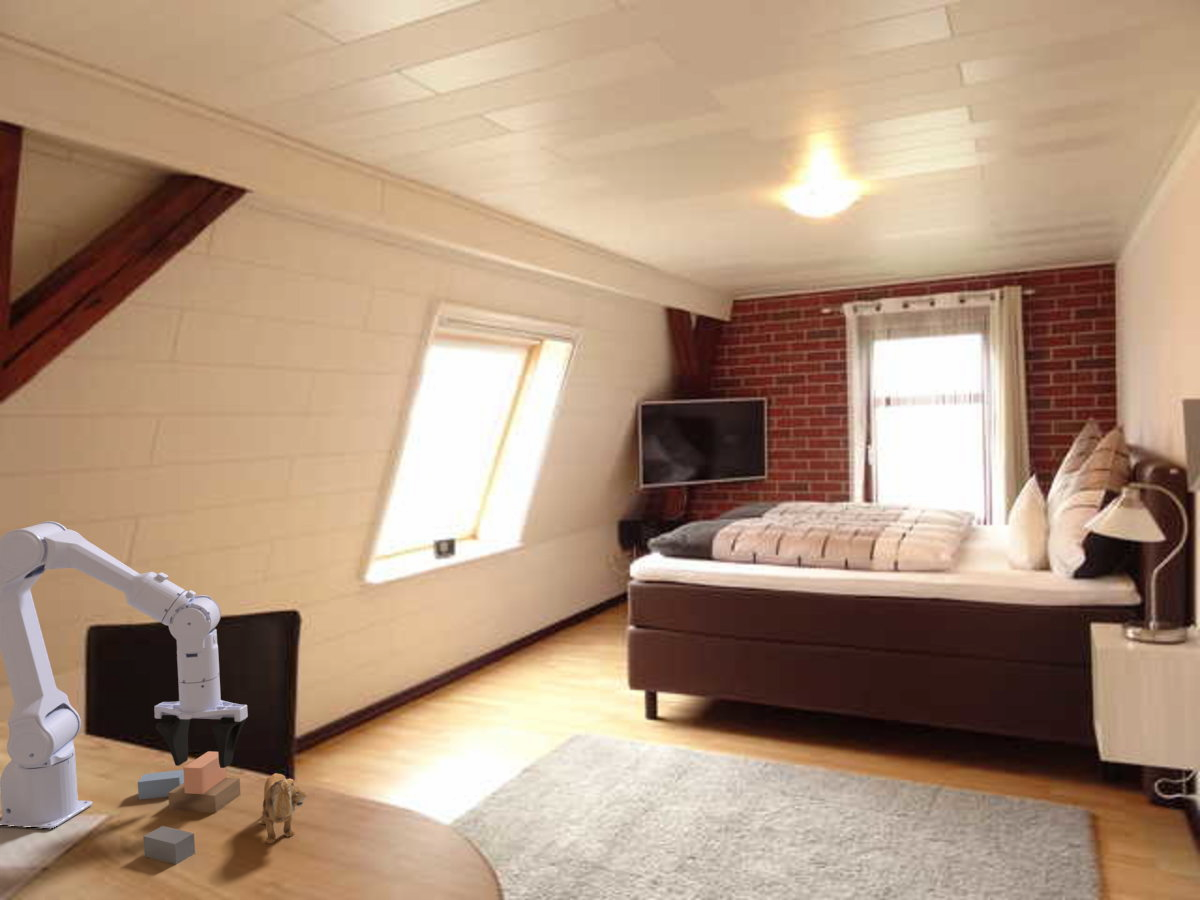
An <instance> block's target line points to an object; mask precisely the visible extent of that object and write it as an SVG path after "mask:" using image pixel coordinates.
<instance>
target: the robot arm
mask: <svg viewBox="0 0 1200 900" xmlns="http://www.w3.org/2000/svg"><path fill="white" fill-rule="evenodd" d="M58 569H59V570H61V569H75V570H78V571H79V572H81V573H83V574H86V575H88V576H90V577H92V578H94V579H96V580H98V581H99V582H102V583H104V584H106V585H109V586H110V587H112V588H114V589H116V590H118V591H121V592H122V593H123V594H124V596H125V600H126V603H127V605H128V606H130V607H132V608H133V609H135V610H137V611H140V612H141V613H142V614H145V615H146V616H148V617H150V618H152V619H154V620H155V621H157V622H159V623H161V624H163V625H164V626H168V630H169V632H170V634H171V636H172V637H173V639H175V640H176V655H177V656H176V662H177V678H178V681H177V682H178V700H177V701H162V702H160V703H158V704H156V705H154V709H153V711H154V718H155V719H161V720H160V722H158V723H156V725H155V727H156V729H155V730H157V732H159V734H160V736H161V737H162V738H163V740H164V741H165V743H166V745H167V746H168V750H169V751H170V754H171V757H172V759H173V763H174V765H175V767H176V766H177V767H178V766H179V767H180V766H181V765H182V764H185V762H187V761H189V760H188V759H189V730H190V729H189V727H190V722H191V719H205V720H206V719H208V720H209V719H210V720H220V721H218V722H216V723H215V724H213V725H212V726H211V730H212V733H213V734H214V738H215V740H216V747H217V752H218V757H219V765H220V768H225V767H226V768H227V767H228V766H230V764H232V763H233V759H234V753H235V749H236V744H237V741H238V738H239V735H240V733H241V731H242V728H243V726H244V725H245V722H246V720H247V718H248V716H249V714H248V705H247V704H239V703H235V702H234V703H233V702H230V701H227V700H226V701H225V700H222V699H221V696H222V695H221V681H220V679H221V678H220V660H219V657H220V656H219V645H218V633H217V632H218V631H217V630H218V629H216V627H217V626H218V624H219V622H220V620H221V617H222V615H221V614H222V612H221V611H222V610H221V607H220V606H219V604H218V602H217V601H215V600H214V599H213V598H212V597H211V596H210V595H206V594H200V595H199V594H198V595H197V593H196V591H194V590H192V589H190V590H189V591H188V590H186V589H185V588H183V587H180V585H177V584H175V583H174V582H172V581H171V580H168V578H169V575H168V574H166V573H165V572H161V571H160V572H159V573H156V572H154V571H148V572H144V573H140V572H137V571H136V570H135V569H133V568H131V567H129V566H128V565H126V564H125V563H123V562H121V561H120V560H119V559H117V558H116V557H114V556H113V555H110V554H109V553H108V552H106V551H105V550H103V549H101V548H100V547H98V546H96V545H95V544H93V543H92V542H90V541H89V540H87V539H86V538H85V537H84V536H82V535H81V534H80V532H77V531H76V530H73V529H71V528H70V529H67V527H66V526H64V525H63V524H61V523H60V522H57V521H50V520H49V521H43V522H40V523H37V524H35V525H31V526H28V527H22V528H17V529H16V528H14V529H12V530H9V531H8V532H5V533H4V534H3V535H2V536H0V654H1V658H2V662H3V666H4V668H5V673H6V676H7V679H8V683H9V687H10V690H11V694H12V695H11V696H12V698H13V699H12V700H13V707H12V709H11V711H10V714H9V717H8V720H7V726H8V732H9V735H8V739H7V743H6V751H7V754H8V756H9V757H10V759H11V760H10V761H9V762H8V763H7V764H6V765H5V767H4V768H3V770H2V773H1V776H0V803H1V804H0V807H1V820H0V824H2V825H14V826H31V827H40V828H39V829H42V828H50V829H49V830H52V829H51V828H53V829H55V828H56V826H57V827H58V826H60V825H62V824H63V823H65V822H66V821H68V820H70V819H71V818H73V817H74V816H76V815H78V814H79V813H81V812H83V811H84V810H86V809H87V808H89V807H91V806H92V805H93V801H92V800H80V799H79V797H78V796H79V794H78V780H77V763H76V749H75V744H74V739H76V738H77V736H79V735H78V734H79V733H80V730H81V727H82V719H81V717H80V715H79V713H78V711H77V710H76V709H75V708H74V707H73V706H72V705H71V703H70V700H69V697H68V695H67V694H66V693H65V692H64V691H62V690H60V689H59V688H58V687H57V685H56V681H55V677H54V674H53V670H52V666H51V662H50V659H49V654H48V651H47V648H46V643H45V640H44V636H43V632H42V629H41V626H40V621H39V616H38V613H37V610H36V605H35V602H34V599H33V595H32V590H31V589H32V588H33V586H34V585H35V584H36V582H37V581H38V580H39V579H40V578H41V576H42V575H43V574H44V573H45V571H47V570H58ZM54 827H55V828H54Z"/></svg>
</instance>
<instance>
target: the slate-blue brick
mask: <svg viewBox="0 0 1200 900" xmlns="http://www.w3.org/2000/svg"><path fill="white" fill-rule="evenodd" d="M182 783H184V770H183V769H178V770H168V771H160V772H159V771H158V772H151V773H144V774H142V776H141V778H140V779H139V780H138V781H137V791H138V793H137V794H138V800H140V801H141V800H146V799H147V800H148V799H157V798H165V797H169V796H168V792H170V791H171V790H173V789H175V788H176V787H178V786H179V785H181V784H182Z"/></svg>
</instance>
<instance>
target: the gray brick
mask: <svg viewBox="0 0 1200 900" xmlns="http://www.w3.org/2000/svg"><path fill="white" fill-rule="evenodd" d="M195 846H196V845H195V833H194V832H189V831H185V830H181V829H177V828H173V827H169V826H164V825H161V826H160V827H158V828H156V829H154V830H152V831H150V832H148V833H146V834H144V835H143V850H144V851H143V853H144V854H143V855H144V857H146V858H150V859H153V860H156V861H157V860H158V861H161V862H165V863H169V864H172V865H178V864H180V863H182V862H183V861H185V860H186V859H188V858H191V856H193V855H195V854H196V847H195Z"/></svg>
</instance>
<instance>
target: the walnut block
mask: <svg viewBox="0 0 1200 900" xmlns="http://www.w3.org/2000/svg"><path fill="white" fill-rule="evenodd" d="M240 796H241V778H238V777H228V776H227V777H226V778H225V779H223V780H222V781H221V782H219V783H218V784H216V785H215V786H214V787H212V788H211V789H209V790H208V791H207V792H205V793H204V794H189V793H185V789H184V783H182V784H181V785H179V786H178V787H176V788H175V789H173V790H171V791H170V792H168V796H167V797H168V810H172V811H184V812H185V811H186V812H201V813H211V814H212V813H213V814H216V813H218V812H220V811H221V810H222V809H223V808H225V807H226V806H227V805H229V804H230V803H232V802H233V801H234V800H235V799H237V798H238V797H240Z"/></svg>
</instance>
